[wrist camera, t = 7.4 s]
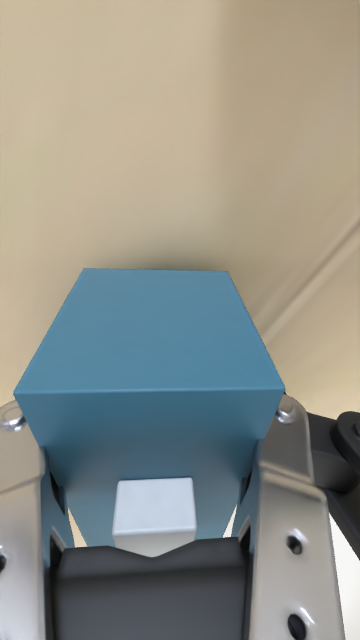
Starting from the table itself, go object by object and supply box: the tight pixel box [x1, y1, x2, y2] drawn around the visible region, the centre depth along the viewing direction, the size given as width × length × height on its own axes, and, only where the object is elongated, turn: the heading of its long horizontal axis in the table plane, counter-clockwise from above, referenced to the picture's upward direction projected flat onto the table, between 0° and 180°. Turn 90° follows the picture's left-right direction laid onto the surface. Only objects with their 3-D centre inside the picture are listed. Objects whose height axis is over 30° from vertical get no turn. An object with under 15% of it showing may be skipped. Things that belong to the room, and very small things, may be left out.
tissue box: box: [13, 268, 285, 557], centre depth 10 cm, size 5×11×7 cm, turn 177°
